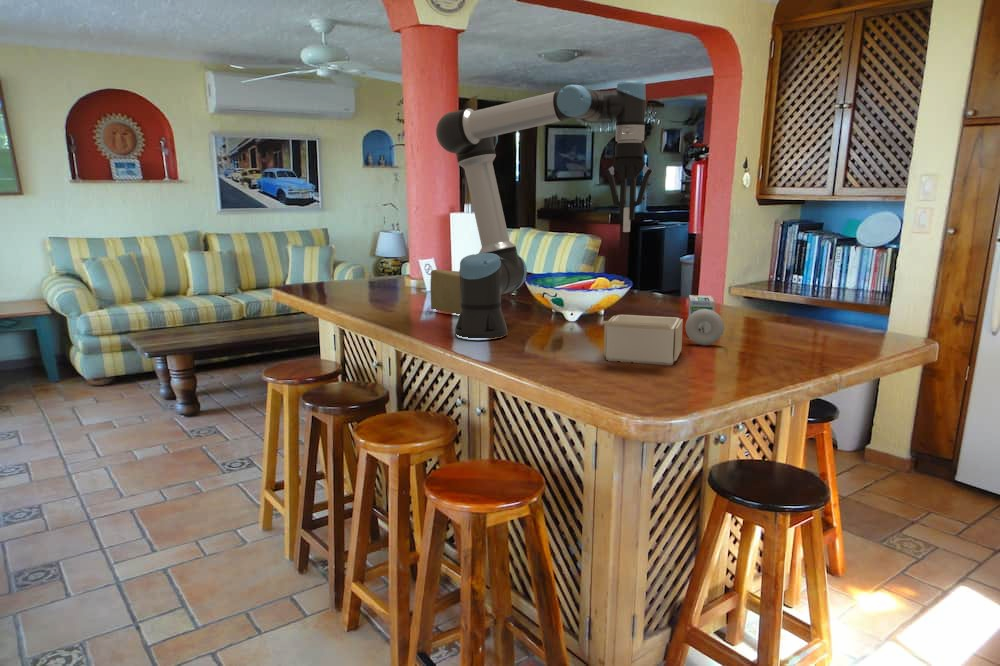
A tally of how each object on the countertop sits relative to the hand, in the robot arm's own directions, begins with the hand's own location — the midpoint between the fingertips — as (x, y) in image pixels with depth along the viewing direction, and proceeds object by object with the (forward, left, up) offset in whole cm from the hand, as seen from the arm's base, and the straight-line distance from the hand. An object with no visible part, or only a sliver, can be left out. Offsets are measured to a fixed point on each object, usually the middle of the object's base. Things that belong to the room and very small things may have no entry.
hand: (626, 231), depth 189 cm
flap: (+8, -27, -21) cm, 35 cm away
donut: (+22, -2, -30) cm, 37 cm away
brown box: (-61, +21, -30) cm, 71 cm away
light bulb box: (+20, +11, -30) cm, 38 cm away
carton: (+8, -19, -30) cm, 37 cm away
